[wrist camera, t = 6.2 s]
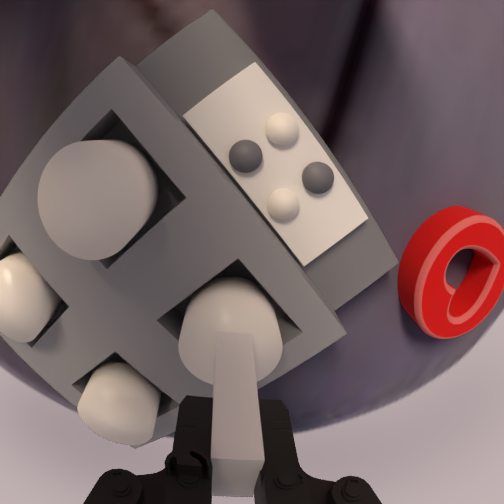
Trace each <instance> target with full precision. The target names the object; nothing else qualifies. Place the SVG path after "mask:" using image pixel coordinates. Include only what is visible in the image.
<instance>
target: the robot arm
mask: <svg viewBox="0 0 504 504" xmlns="http://www.w3.org/2000/svg"><path fill="white" fill-rule="evenodd" d="M253 494H254V498H255V504H382V503H381V502H380V500H379V499H378V497H377V496H376V494H375V493H374V491H373V490H372V488H371V487H370V485H369V484H368V483H367V482H366V481H365V480H363V479H361V478H359V477H355V476H347V477H343V478H341V479H339V480H338V481H336V482H333V481H326V480H321V479H317V478H313V477H311V476H309V475H308V474H306V473H305V472H304V471H303V470H302V468H301V467H300V465H299V462H298V457H297V453H296V447H295V442H294V437H293V432H292V427H291V423H290V417H289V412H288V409H287V408H286V406H285V405H284V404H283V402H282V401H281V400H258V392H257V382H256V372H255V363H254V353H253V343H252V334H244V333H231V332H219V331H217V342H216V354H215V367H214V381H213V398H211V397H200V396H190V395H186V396H185V398H184V399H183V400H182V402H181V403H180V404H179V410H178V417H177V423H176V430H175V436H174V443H173V450H172V452H171V453H170V454H169V455H168V456H167V458H166V460H165V468H164V469H163V470H162V471H160V472H157V473H153V474H146V475H134V474H133V473H131V472H129V471H127V470H123V469H112V470H109V471H107V472H105V473H104V474H103V475H102V476H101V477H100V478H99V480H98V481H97V483H96V484H95V486H94V488H93V489H92V491H91V492H90V494H89V496H88V497H87V499H86V500H85V502H84V504H211V501H212V500H211V499H212V495H213V496H231V497H232V496H233V497H253Z"/></svg>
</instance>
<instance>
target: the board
mask: <svg viewBox="0 0 504 504" xmlns="http://www.w3.org/2000/svg"><path fill="white" fill-rule="evenodd" d="M110 139H116V140H123V141H127V142H129V143H132V144H133V145H135V146H137V147H138V148H139V149H141V150H142V151H143V152H144V153H145V154H146V155H147V156H148V158H149V159H150V161H151V162H152V164H153V166H154V168H155V171H156V174H157V178H158V184H159V194H158V201H157V205H156V208H155V210H154V212H153V214H152V216H151V218H150V219H149V221H148V222H147V223H146V224H145V225H144V226H143V227H142V228H141V229H140V230H139V231H138V232H137V234H136V235H135V236H134V237H133V238H132V239H131V240H130V241H129V242H128V243H127V244H126V245H125V246H124V248H122V249H121V250H120V251H119V252H117V253H116V254H114V255H112V256H110V257H107V258H104V259H100V260H84V259H80V258H77V257H74V256H72V255H70V254H68V253H66V252H65V251H63V250H62V249H61V248H60V247H58V246H57V245H56V244H55V243H54V241H53V240H52V239H51V238H50V236H49V235H48V233H47V232H46V230H45V228H44V226H43V223H42V221H41V218H40V214H39V209H38V200H37V199H38V186H39V182H40V178H41V175H42V173H43V170H44V169H45V167H46V165H47V163H48V162H49V161H50V159H51V158H52V157H53V156H54V155H55V154H56V153H57V152H58V151H59V150H61V149H62V148H64V147H65V146H67V145H70V144H72V143H75V142H79V141H91V140H110ZM18 249H20V250H21V251H22V252H23V254H24V255H25V256H26V257H27V259H28V260H29V261H30V262H31V264H32V265H33V266H34V267H35V268H36V270H37V271H38V272H39V273H40V274H41V276H42V277H43V278H44V279H45V280H46V281H47V283H48V284H49V285H50V286H51V287H52V288H53V289H54V290H55V292H56V293H57V294H58V295H59V296H60V297H61V298H62V302H61V305H60V308H59V310H58V311H57V312H56V313H55V314H54V316H53V317H52V318H51V319H50V320H49V322H48V323H47V324H46V325H45V326H44V328H43V329H42V330H41V331H40V333H39V334H38V335H37V336H36V338H35V339H34V340H32V341H30V342H26V343H21V342H17V341H14V340H12V339H10V338H8V337H6V336H5V335H4V334H2V333H1V332H0V335H1V336H2V338H3V339H4V340H5V341H6V342H7V343H8V344H9V345H10V346H11V347H12V348H13V349H14V351H15V352H16V353H17V354H18V355H19V356H20V357H21V358H22V359H23V360H24V361H25V362H26V363H27V364H28V365H29V366H30V367H31V368H32V369H33V370H34V371H36V372H37V373H38V374H39V375H40V376H41V377H42V378H43V379H44V380H45V381H46V382H47V383H49V384H50V385H51V386H52V387H53V388H54V389H55V390H56V391H58V392H59V393H60V394H61V395H62V396H63V397H65V398H66V399H67V400H68V401H69V402H71V403H72V404H73V405H74V406H76V407H78V403H79V401H80V398H81V396H82V394H83V392H84V390H85V388H86V386H87V384H88V382H89V380H90V378H91V375H92V373H93V371H94V370H95V368H96V367H97V366H99V365H100V364H103V363H106V362H122V363H126V364H129V365H131V366H132V367H134V368H135V369H136V370H137V371H138V372H140V373H141V374H142V375H143V376H144V377H146V378H147V379H148V380H149V381H150V382H152V383H153V384H154V385H155V386H157V387H158V388H159V390H160V394H161V399H160V403H159V408H158V412H157V417H156V422H155V427H154V431H153V436H152V438H151V439H150V440H149V441H147V442H145V443H143V444H139V445H130V446H131V447H133V448H138V447H140V446H143V445H145V444H148V443H150V442H153V441H155V440H157V439H160V438H162V437H164V436H166V435H169V434H171V433H173V432H175V430H176V423H177V417H178V410H179V404H180V403H181V402H182V400H183V399H184V398H185V396H186V395H190V396H200V397H211V398H213V385H212V384H209V383H206V382H204V381H202V380H200V379H199V378H197V377H196V376H194V375H193V374H192V373H191V372H190V371H189V370H188V369H187V368H186V367H185V365H184V364H183V362H182V360H181V358H180V354H179V349H178V343H179V337H180V333H181V329H182V324H183V320H184V316H185V312H186V308H187V304H188V301H189V299H190V297H191V296H192V294H193V293H194V292H195V291H196V290H197V289H198V288H200V287H201V286H202V285H204V284H205V283H206V282H208V281H210V280H213V279H216V278H220V277H228V276H229V277H240V278H244V279H247V280H250V281H252V282H254V283H256V284H258V285H259V286H260V287H262V288H263V289H264V290H265V291H266V292H267V294H268V295H269V296H270V298H271V300H272V303H273V305H274V309H275V313H276V318H277V322H278V326H279V330H280V334H281V338H282V345H283V349H282V355H281V358H280V361H279V363H278V364H277V366H276V367H275V369H274V370H273V371H272V372H271V373H270V374H269V375H267V376H266V377H265V378H263V379H261V380H260V381H258V382H257V390H258V389H259V388H261V387H263V386H265V385H266V384H268V383H270V382H272V381H273V380H275V379H277V378H278V377H280V376H282V375H283V374H285V373H287V372H288V371H290V370H292V369H293V368H295V367H297V366H298V365H300V364H301V363H303V362H305V361H306V360H308V359H309V358H311V357H313V356H314V355H316V354H317V353H319V352H320V351H322V350H323V349H325V348H326V347H328V346H329V345H331V344H332V343H334V342H335V341H337V340H338V339H340V338H341V337H343V336H344V335H346V334H347V333H346V331H345V329H344V327H343V325H342V324H341V322H340V320H339V318H338V316H337V314H336V313H335V310H336V309H338V308H339V307H341V306H342V305H343V304H345V303H346V302H348V301H349V300H350V299H352V298H353V297H354V296H356V295H357V294H358V293H360V292H361V291H362V290H364V289H365V288H367V287H368V286H369V285H370V284H372V283H373V282H374V281H376V280H377V279H378V278H380V277H381V276H382V275H384V274H385V273H386V272H387V271H389V270H390V269H391V268H393V267H394V266H395V265H396V264H398V263H399V262H398V260H397V258H396V256H395V255H394V253H393V251H392V249H391V247H390V246H389V244H388V242H387V240H386V238H385V237H384V235H383V233H382V231H381V230H380V228H379V226H378V224H377V223H376V221H375V219H374V218H373V216H372V214H371V213H370V211H369V209H368V208H367V206H366V204H365V203H364V201H363V200H362V198H361V196H360V195H359V193H358V192H357V190H356V188H355V187H354V185H353V184H352V182H351V181H350V179H349V178H348V176H347V175H346V173H345V171H344V170H343V168H342V167H341V165H340V164H339V163H338V161H337V160H336V158H335V157H334V155H333V154H332V152H331V151H330V149H329V148H328V147H327V145H326V144H325V142H324V141H323V139H322V138H321V137H320V135H319V134H318V132H317V131H316V130H315V128H314V127H313V126H312V124H311V123H310V122H309V120H308V119H307V118H306V116H305V115H304V114H303V112H302V111H301V110H300V108H299V107H298V106H297V104H296V103H295V102H294V101H293V99H292V98H291V97H290V95H289V94H288V93H287V92H286V90H285V89H284V88H283V87H282V85H281V84H280V83H279V82H278V81H277V79H276V78H275V77H274V76H273V74H272V73H271V72H270V71H269V70H268V68H267V67H266V66H265V65H264V64H263V63H262V61H261V60H260V59H259V58H258V57H257V56H256V55H255V53H254V52H253V51H252V50H251V49H250V48H249V47H248V46H247V44H246V43H245V42H244V41H243V40H242V39H241V38H240V37H239V36H238V35H237V34H236V32H235V31H234V30H233V29H232V28H231V27H230V26H229V25H228V24H227V23H226V22H225V21H224V20H223V19H222V18H221V17H220V16H219V15H218V14H217V13H216V12H215V11H214V10H213V9H211V10H210V11H208V12H207V13H205V14H204V15H202V16H201V17H199V18H198V19H196V20H195V21H193V22H192V23H190V24H189V25H187V26H186V27H185V28H183V29H182V30H180V31H179V32H178V33H176V34H175V35H174V36H172V37H171V38H170V39H168V40H167V41H166V42H164V43H163V44H162V45H160V46H159V47H158V48H157V49H155V50H154V51H153V52H152V53H150V54H149V55H148V56H147V57H146V58H144V59H143V60H142V61H141V62H140V63H138V64H137V65H136V66H134V65H133V64H132V63H130V62H129V61H127V60H126V59H124V58H123V57H121V56H120V55H119V56H118V57H117V58H116V59H115V60H114V61H113V62H112V63H110V64H109V65H108V66H107V67H106V68H105V69H104V70H103V71H102V72H101V73H100V74H99V75H98V76H97V77H96V78H95V79H94V80H93V81H92V82H91V83H90V84H89V85H88V86H87V87H86V88H85V89H84V90H83V91H82V92H81V93H80V94H79V95H78V96H77V97H76V98H75V99H74V100H73V102H72V103H71V104H70V105H69V106H68V107H67V108H66V109H65V110H64V112H63V113H62V114H61V115H60V116H59V117H58V119H57V120H56V121H55V122H54V123H53V124H52V126H51V127H50V128H49V129H48V131H47V132H46V133H45V134H44V136H43V137H42V138H41V139H40V141H39V142H38V143H37V145H36V146H35V147H34V149H33V150H32V151H31V153H30V154H29V155H28V157H27V158H26V159H25V161H24V162H23V164H22V165H21V166H20V168H19V169H18V171H17V172H16V174H15V175H14V177H13V178H12V180H11V181H10V183H9V184H8V186H7V187H6V189H5V191H4V192H3V194H2V195H1V197H0V261H1V260H2V259H4V258H5V257H7V256H8V255H10V254H11V253H13V252H14V251H16V250H18Z"/></svg>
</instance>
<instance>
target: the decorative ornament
mask: <svg viewBox="0 0 504 504" xmlns="http://www.w3.org/2000/svg"><path fill="white" fill-rule="evenodd" d="M463 249H472V250H473V251H474V252H475V253H474V256H473V259H472V262H471V264H470V267H469V269H468V271H467V273H466V276H465V278H464V279H463V281H462V283H461V285H460V286H459V288H458V289H457V290H456V291H455V288H453V287H452V286H451V285H450V284H448V283H447V282H446V270H447V267H448V264H449V262H450V261H451V259H452V258H453V257H454V255H455V254H456V253H458V252H459V251H461V250H463ZM503 289H504V231H503V229H502V227H501V226H500V225H499V224H498V223H497V222H496V221H495V220H493V219H492V218H490V217H487V216H485V215H483V214H481V213H478V212H476V211H473V210H471V209H469V208H466V207H461V206H453V207H449V208H446V209H443V210H441V211H439V212H437V213H436V214H434V215H433V216H431V217H430V218H429V219H427V220H426V221H425V222H424V223H423V224H422V225H421V226H420V227H419V229H418V230H417V231H416V232H415V234H414V235H413V236H412V238H411V240H410V241H409V243H408V245H407V247H406V249H405V251H404V253H403V256H402V259H401V262H400V266H399V271H398V293H399V299H400V302H401V304H402V306H403V308H404V309H405V311H406V312H407V313H408V314H409V315H410V317H411V318H412V319H413V320H414V321H415V322H416V323H417V325H418V326H419V327H420V328H421V329H422V330H423V331H424V332H425V333H426V334H427V335H429V336H431V337H434V338H437V339H451V338H455V337H458V336H461V335H463V334H465V333H467V332H469V331H470V330H472V329H473V328H475V327H476V326H477V325H478V324H479V323H480V322H481V321H482V320H483V319H484V318H485V317H486V316H487V315H488V314H489V313H490V311H491V310H492V309H493V307H494V306H495V304H496V303H497V301H498V299H499V297H500V295H501V293H502V291H503Z"/></svg>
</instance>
